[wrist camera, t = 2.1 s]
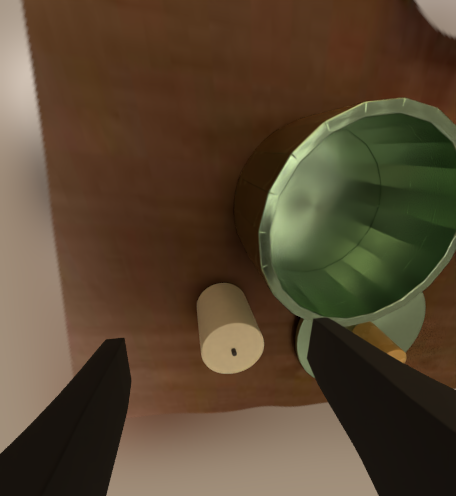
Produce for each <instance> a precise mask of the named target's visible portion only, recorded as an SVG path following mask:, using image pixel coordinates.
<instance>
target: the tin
mask: <svg viewBox="0 0 456 496" xmlns="http://www.w3.org/2000/svg"><path fill="white" fill-rule="evenodd" d="M234 220H235V226H236V230H237V233H238V236H239V238H240V240H241V243H242V244H243V246H244V249H245V251H246V253H247V254H248V256H249V257H250V259H251V260H252V262H253V264H254V265H255V267H256V268H257V270H258V272H259V273H260V275H261V276H262V278H263V280H264V281H265V283H266V284H267V286H268V287H269V289H270V291H271V292H272V294H273V295H274V296H275V297H276V298H277V299H278V300H279V301H280V302H281V303H282V304H283V305H284V306H285V307H286V308H287V309H288V310H289V311H290V312H291V313H292V314H294V315H296V316H299V317H301V318H303V319H306V320H308V321H311V322H313V319H314V318H324V317H328V318H330V319H331V320H333V321H335V322H337V323H338V324H340V325H342V326H343V327H346V326H352V325H357V324H361V323H366V322H370V321H374V320H377V319H379V318H381V317H383V316H385V315H387V314H389V313H391V312H393V311H395V310H397V309H399V308H402V306H405V305H406V304H407V303H408V302H410V301H411V300H412V299H413V298H415V297H416V296H417V295H418V294H420V293H421V292H422V291H424V290H425V289H426V288H427V287H428V286H430V284H431V283H432V282H433V281H434V280H435V278H436V277H437V276H438V275H439V274H440V272H441V271H442V270H443V269H444V268H445V267H446V265H447V264H448V263H449V262H450V260H451V258H452V256H453V254H454V253H455V251H456V125H455V124H454V123H453V122H452V121H451V120H450V119H449V118H448V117H447V116H446V115H445V114H444V113H443V112H442V111H441V110H439V109H438V108H436V107H433V106H430V105H427V104H424V103H421V102H418V101H414V100H411V99H408V98H393V99H384V100H374V101H365V102H362V103H358V104H354V105H350V106H346V107H342V108H338V109H334V110H330V111H326V112H322V113H318V114H315V115H311V116H307V117H303V118H300V119H298V120H296V121H294V122H292V123H289V124H287V125H285V126H283V127H281V128H280V129H278V130H276V131H275V132H273V133H272V134H271V135H270V136H269V137H267V138H266V139H265V140H264V141H263V142H262V143H261V144H260V145H259V146H258V147H257V148H256V150H255V151H254V152H253V154H252V155H251V156H250V158H249V159H248V161H247V163H246V165H245V166H244V168H243V170H242V173H241V175H240V177H239V180H238V184H237V187H236V191H235V198H234Z"/></svg>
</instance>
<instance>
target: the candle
mask: <svg viewBox="0 0 456 496" xmlns="http://www.w3.org/2000/svg"><path fill="white" fill-rule="evenodd" d="M197 317H198V327H199V337H200V347H201V356H202V359H203V361H204V363H205V364H206V365H207V367H209V368H210V369H211V370H213V371H215V372H218V373H223V374H232V373H237V372H241V371H243V370H246V369H247V368H249V367H251V366H252V365H253V364H254V363H256V361H257V360H258V359H259V358H260V356H261V354H262V352H263V348H264V339H263V336H262V334H261V332H260V329H259V327H258V325H257V322H256V320H255V318H254V316H253V313H252V311H251V309H250V306H249V304H248V302H247V299H246V297H245V295H244V293H243V291H242V290H241V289H240V288H238V287H237V286H235V285H233V284H229V283H218V284H214V285H212V286H210V287H208V288H207V289H205V290H204V291H203V292H202V294H201V295H200V296H199V298H198V301H197Z"/></svg>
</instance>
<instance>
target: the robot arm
mask: <svg viewBox="0 0 456 496" xmlns="http://www.w3.org/2000/svg"><path fill="white" fill-rule="evenodd" d="M307 360H308V363H309V365H310V367H311V370H312V372H313V374H314V377H315V379H316V381H317V383H318V385H319V387H320V389H321V390H322V392H323V394H324V396H325V397H326V399H327V401H328V402H329V404H330V406H331V408H332V409H333V411H334V413H335V414H336V416H337V418H338V419H339V421H340V423H341V425H342V426H343V428H344V430H345V431H346V433H347V435H348V436H349V438H350V440H351V442H352V443H353V445H354V447H355V448H356V450H357V452H358V454H359V456H360V458H361V460H362V462H363V464H364V466H365V468H366V470H367V472H368V474H369V476H370V478H371V480H372V482H373V484H374V487H375V489H376V491H377V493H378V495H379V496H456V390H454V389H452V388H450V387H448V386H446V385H444V384H442V383H440V382H438V381H436V380H434V379H432V378H430V377H428V376H426V375H424V374H422V373H420V372H419V371H417V370H415V369H413V368H411V367H410V366H408V365H406V364H404V363H402V362H401V361H399V360H397V359H395V358H394V357H392V356H390V355H389V354H387V353H385V352H384V351H382V350H380V349H379V348H377V347H375V346H374V345H372V344H370V343H369V342H367V341H366V340H364V339H362V338H361V337H359V336H358V335H356V334H354V333H353V332H351V331H350V330H348V329H346V328H345V327H343V326H342V325H340V324H338V323H337V322H335V321H333V320H331V319H330V318H328V317H324V318H314V319H313V322H312V329H311V335H310V341H309V347H308V353H307ZM130 388H131V375H130V369H129V363H128V357H127V351H126V345H125V339H124V338H117V339H107V340H105V341H104V342H103V343H102V345H101V346H100V347H99V348H98V349H97V351H96V352H95V353H94V354H93V355H92V357H91V358H90V359H89V360H88V361H87V363H86V364H85V365H84V366H83V367H82V369H81V370H80V371H79V372H78V373H77V374H76V376H75V377H74V378H73V379H72V380H71V381H70V382H69V384H68V385H67V386H66V387H65V388H64V389H63V390H62V391H61V393H60V394H59V395H58V396H57V397H56V398H55V399H54V400H53V401H52V402H51V403H50V405H49V406H47V408H46V409H45V410H44V411H43V412H42V413H41V414H40V415H39V416H38V417H37V418H36V419H35V420H34V421H33V422H32V423H31V424H30V425H29V426H28V427H27V428H26V429H25V430H24V431H23V432H22V433H21V434H20V435H19V436H18V437H17V438H16V439H15V440H14V441H13V442H12V443H11V444H10V445H9V446H8V447H7V448H6V449H5V450H4V451H3V452H2V453H1V454H0V496H106V494H107V490H108V486H109V482H110V478H111V474H112V470H113V466H114V462H115V458H116V455H117V451H118V447H119V443H120V438H121V434H122V430H123V426H124V422H125V418H126V414H127V409H128V403H129V396H130Z"/></svg>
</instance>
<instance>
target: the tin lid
mask: <svg viewBox="0 0 456 496" xmlns="http://www.w3.org/2000/svg"><path fill="white" fill-rule="evenodd" d="M424 317H425V299H424V295H423V292H421V293H420V294H418V295H417V296H416V297H415V298H413V299H412V300H411V301H410V302H408V303H407V304H406V305H405V306H402V308H399V309H397V310H395V311H393V312H391V313H389V314H387V315H385V316H383V317H381V318H379V319H377V320H374V321H370V322H366V323H361V324H357V325H352V326H346V327H345V328H346V329H348V330H350V331H351V332H353V333H354V334H356V335H358V336H359V337H361V338H362V339H364V340H366V341H367V342H369V343H370V344H372V345H374V346H375V347H377V348H379V349H380V350H382V351H384V352H385V353H387V354H389V355H390V356H392V357H394V358H395V359H397V360H399V361H401V362H402V363H405V361H406V353H405V352H406V351H407V350H408V349H409V348H410V346H411V345H412V344H413V342H414V341H415V339H416V337H417V336H418V334H419V332H420V330H421V327H422V324H423V321H424ZM311 329H312V322H311V321H308V320H306V319H303V318H301V319H300V321H299V323H298V326H297V330H296V335H295V349H296V354H297V357H298V359H299V361H300V363H301V365H302V366H303V368H304V369H305V370H306V371H307V372H308V373H309V374H310V375H311V376H313V377H314V374H313V372H312V370H311V367H310V365H309V363H308V360H307V353H308V347H309V341H310V335H311ZM314 378H315V377H314Z"/></svg>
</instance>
